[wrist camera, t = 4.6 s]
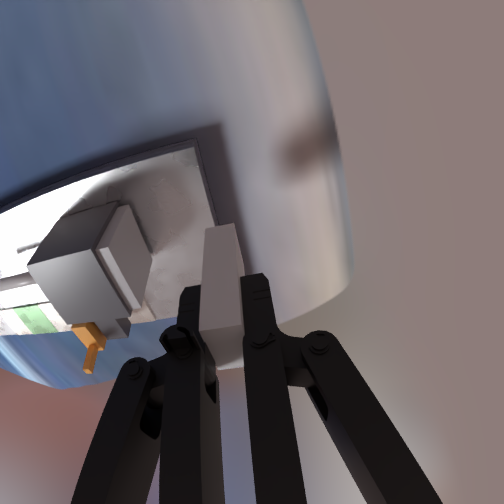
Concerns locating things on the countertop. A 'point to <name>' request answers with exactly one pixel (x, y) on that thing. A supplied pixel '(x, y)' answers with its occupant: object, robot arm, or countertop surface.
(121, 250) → the grey block with rod
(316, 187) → the countertop surface
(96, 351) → the orange peg piece
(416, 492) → the robot arm
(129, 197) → the gauge board
